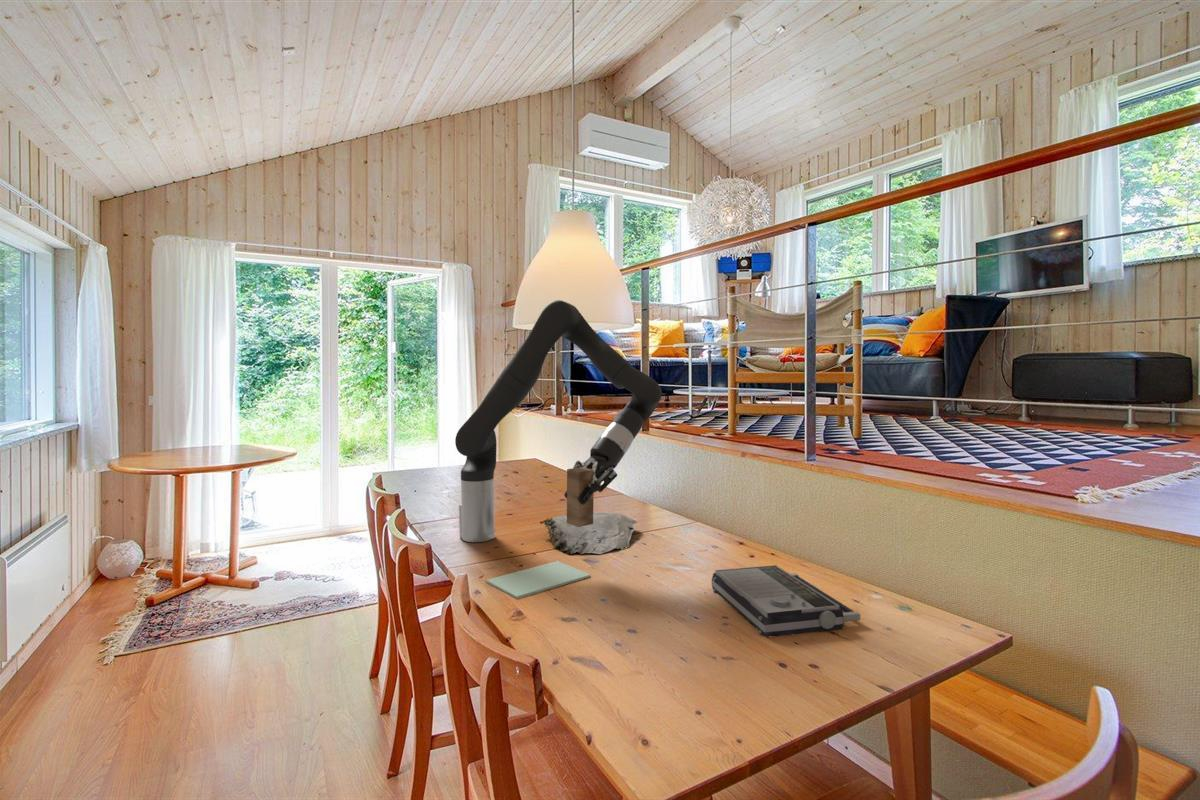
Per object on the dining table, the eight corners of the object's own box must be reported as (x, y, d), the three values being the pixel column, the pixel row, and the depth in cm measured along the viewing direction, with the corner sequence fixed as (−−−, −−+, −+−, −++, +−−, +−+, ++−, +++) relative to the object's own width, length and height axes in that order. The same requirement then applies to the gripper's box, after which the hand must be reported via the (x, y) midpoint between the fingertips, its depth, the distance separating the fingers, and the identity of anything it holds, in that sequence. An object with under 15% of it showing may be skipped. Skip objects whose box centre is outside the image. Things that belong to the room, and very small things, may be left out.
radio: (710, 567, 127) (794, 560, 132) (710, 591, 128) (793, 583, 132) (764, 612, 104) (864, 602, 108) (764, 641, 104) (864, 630, 108)
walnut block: (581, 520, 143) (581, 467, 142) (593, 523, 140) (593, 469, 139) (566, 523, 140) (567, 469, 139) (578, 527, 137) (578, 471, 136)
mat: (557, 563, 146) (557, 561, 146) (590, 576, 136) (590, 574, 136) (486, 582, 133) (486, 579, 133) (516, 598, 123) (516, 596, 123)
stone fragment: (663, 543, 165) (663, 520, 165) (577, 562, 149) (577, 537, 148) (610, 522, 186) (610, 501, 185) (529, 536, 169) (529, 514, 169)
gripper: (585, 432, 149) (546, 485, 142) (624, 438, 138) (583, 496, 131) (601, 451, 153) (564, 504, 146) (640, 458, 142) (601, 515, 135)
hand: (573, 500), depth 138 cm, fingers closed on walnut block, 4 cm apart
